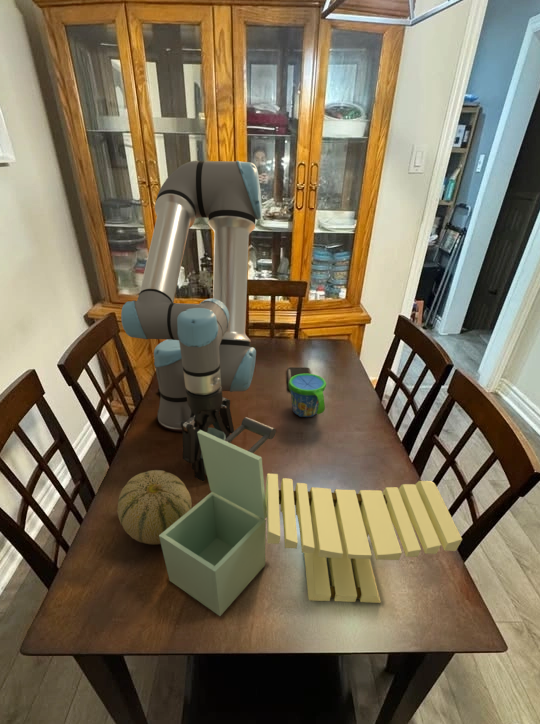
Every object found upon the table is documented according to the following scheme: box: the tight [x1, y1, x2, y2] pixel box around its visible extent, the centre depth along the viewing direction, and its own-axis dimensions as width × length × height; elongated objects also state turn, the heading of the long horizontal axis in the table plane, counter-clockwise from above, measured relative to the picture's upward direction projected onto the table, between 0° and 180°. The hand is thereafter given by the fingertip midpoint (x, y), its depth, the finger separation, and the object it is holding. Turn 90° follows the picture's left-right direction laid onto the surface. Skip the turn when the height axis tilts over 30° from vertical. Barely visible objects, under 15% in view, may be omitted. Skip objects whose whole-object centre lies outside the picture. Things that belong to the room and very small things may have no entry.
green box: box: [159, 491, 267, 617], centre depth 76 cm, size 14×13×13 cm
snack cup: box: [288, 373, 327, 418], centre depth 122 cm, size 16×10×10 cm
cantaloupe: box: [116, 469, 193, 545], centre depth 83 cm, size 15×15×15 cm
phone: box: [287, 366, 311, 390], centre depth 140 cm, size 8×1×15 cm
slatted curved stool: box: [265, 473, 463, 604], centre depth 75 cm, size 30×16×18 cm, turn 90°
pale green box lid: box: [197, 416, 277, 520], centre depth 73 cm, size 14×13×9 cm
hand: (212, 469), depth 101 cm, fingers closed on cup, 8 cm apart
